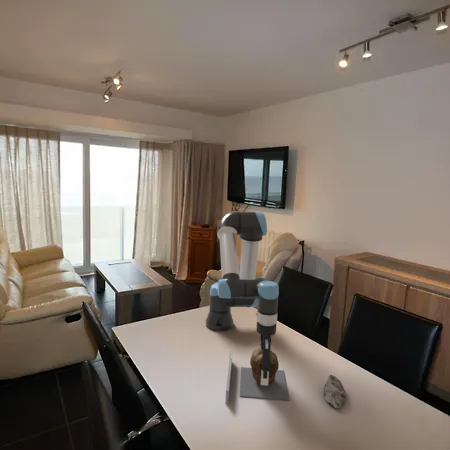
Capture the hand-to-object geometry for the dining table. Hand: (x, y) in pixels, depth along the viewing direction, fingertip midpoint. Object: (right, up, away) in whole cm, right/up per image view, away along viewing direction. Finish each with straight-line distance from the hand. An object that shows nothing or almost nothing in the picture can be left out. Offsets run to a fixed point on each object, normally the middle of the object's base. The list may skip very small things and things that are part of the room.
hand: (263, 375), depth 122 cm
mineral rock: (+26, -6, -6) cm, 27 cm away
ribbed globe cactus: (0, -2, 0) cm, 2 cm away
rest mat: (0, -3, 0) cm, 3 cm away
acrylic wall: (-14, -3, +1) cm, 14 cm away
